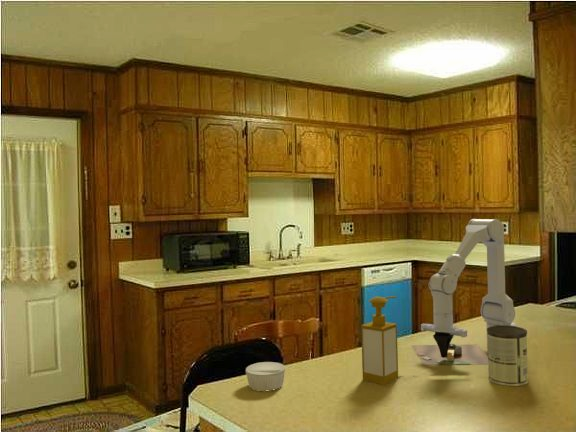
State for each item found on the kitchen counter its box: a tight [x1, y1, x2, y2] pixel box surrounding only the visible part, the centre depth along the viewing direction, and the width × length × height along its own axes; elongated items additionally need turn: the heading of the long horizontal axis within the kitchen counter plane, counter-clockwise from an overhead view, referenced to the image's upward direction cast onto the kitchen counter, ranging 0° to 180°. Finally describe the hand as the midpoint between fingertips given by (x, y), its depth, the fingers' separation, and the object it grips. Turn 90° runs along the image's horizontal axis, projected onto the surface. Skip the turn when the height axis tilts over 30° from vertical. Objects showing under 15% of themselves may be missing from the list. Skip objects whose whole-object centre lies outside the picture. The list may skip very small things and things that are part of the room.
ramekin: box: [245, 361, 286, 392], centre depth 150 cm, size 11×11×5 cm
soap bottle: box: [360, 296, 399, 386], centre depth 155 cm, size 7×13×24 cm, turn 137°
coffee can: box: [486, 326, 529, 387], centre depth 148 cm, size 10×10×14 cm
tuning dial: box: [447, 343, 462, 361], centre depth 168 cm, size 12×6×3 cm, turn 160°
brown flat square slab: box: [411, 343, 488, 366], centre depth 171 cm, size 22×22×1 cm
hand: (444, 356), depth 166 cm, fingers closed
